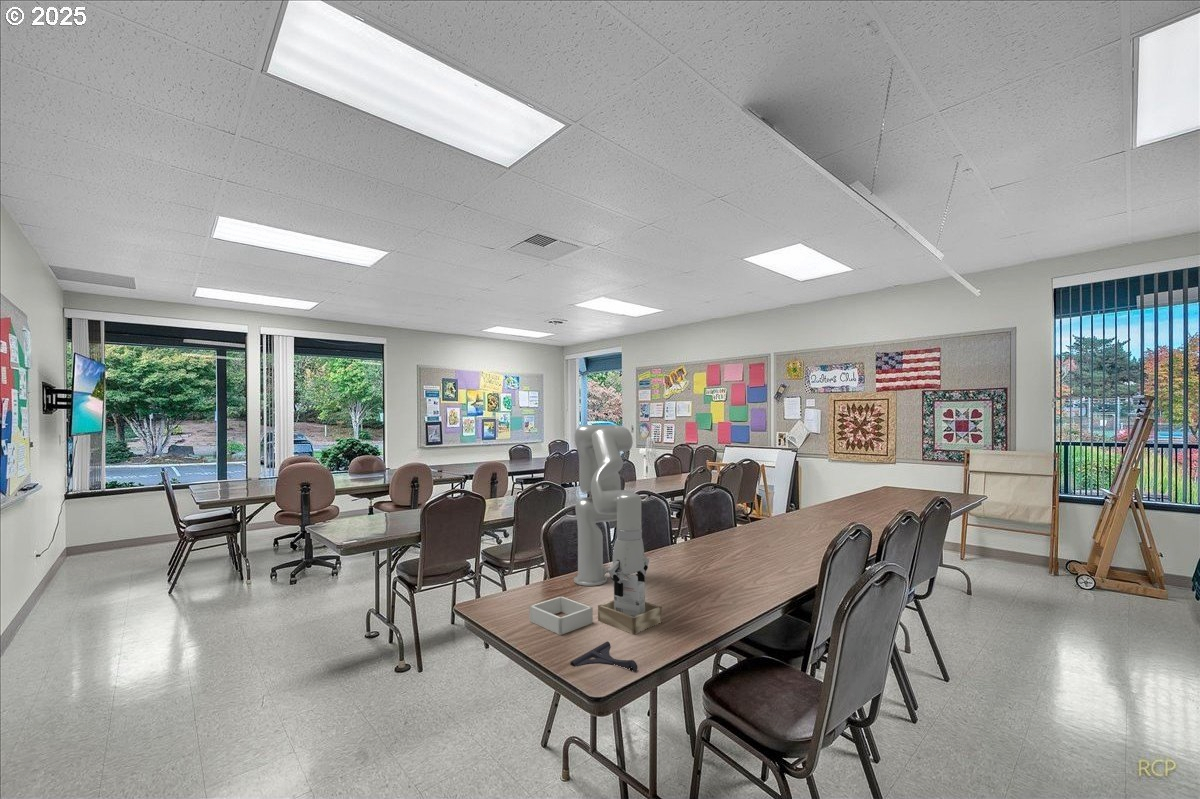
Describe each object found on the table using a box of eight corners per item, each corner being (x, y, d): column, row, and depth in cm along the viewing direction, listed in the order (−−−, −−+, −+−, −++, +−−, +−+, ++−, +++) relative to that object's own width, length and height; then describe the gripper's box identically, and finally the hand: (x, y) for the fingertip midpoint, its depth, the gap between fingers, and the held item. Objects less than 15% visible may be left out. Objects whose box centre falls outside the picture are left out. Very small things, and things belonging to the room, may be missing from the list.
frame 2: (626, 610, 163) (626, 595, 163) (662, 622, 152) (661, 607, 152) (598, 620, 154) (598, 605, 154) (634, 634, 143) (633, 618, 144)
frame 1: (561, 610, 162) (561, 596, 163) (592, 622, 152) (592, 607, 152) (529, 621, 154) (529, 606, 154) (560, 635, 143) (560, 618, 143)
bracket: (618, 686, 116) (618, 673, 116) (569, 667, 126) (570, 655, 126) (652, 663, 128) (652, 652, 128) (605, 647, 137) (605, 636, 137)
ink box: (646, 621, 153) (645, 571, 154) (638, 626, 149) (638, 575, 150) (621, 616, 158) (621, 567, 158) (613, 621, 153) (613, 571, 154)
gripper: (638, 528, 163) (639, 582, 162) (600, 537, 151) (600, 595, 150) (656, 532, 158) (657, 588, 157) (618, 541, 146) (619, 601, 145)
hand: (629, 591), depth 153 cm, fingers open, 9 cm apart
